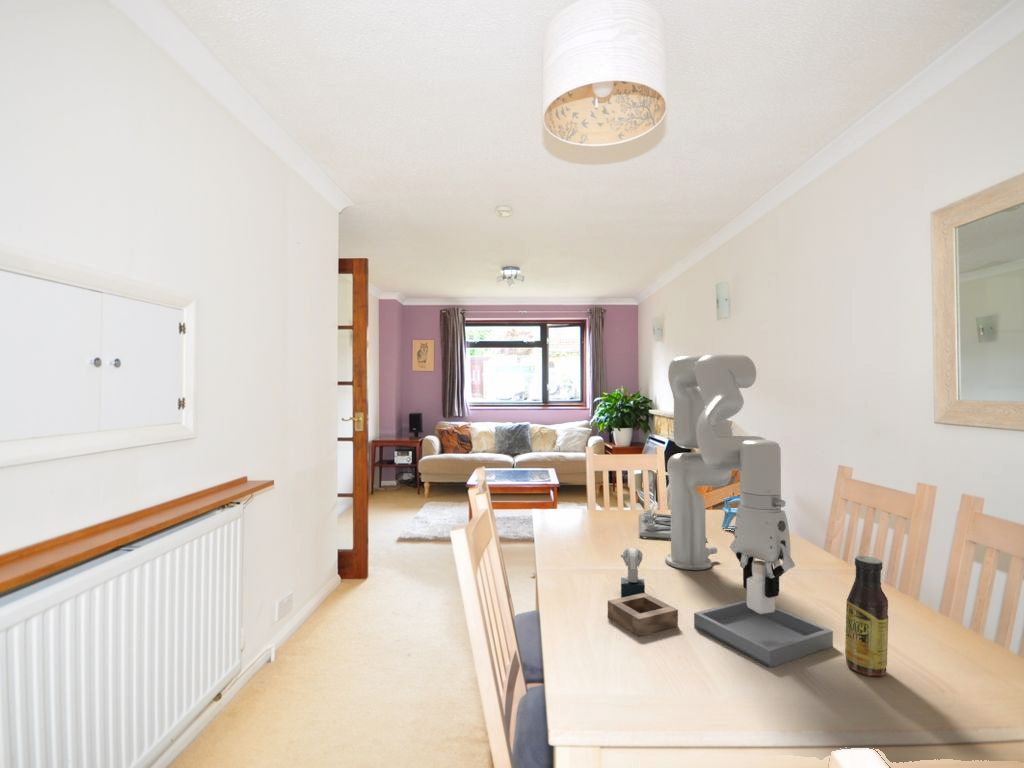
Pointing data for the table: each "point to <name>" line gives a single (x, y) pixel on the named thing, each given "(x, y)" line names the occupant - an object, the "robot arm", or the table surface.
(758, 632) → the tray
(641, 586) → the watch
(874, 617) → the sauce bottle
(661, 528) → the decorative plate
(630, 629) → the shaker holder
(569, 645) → the table surface
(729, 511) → the chair
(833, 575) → the table surface
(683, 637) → the table surface
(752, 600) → the salt shaker
